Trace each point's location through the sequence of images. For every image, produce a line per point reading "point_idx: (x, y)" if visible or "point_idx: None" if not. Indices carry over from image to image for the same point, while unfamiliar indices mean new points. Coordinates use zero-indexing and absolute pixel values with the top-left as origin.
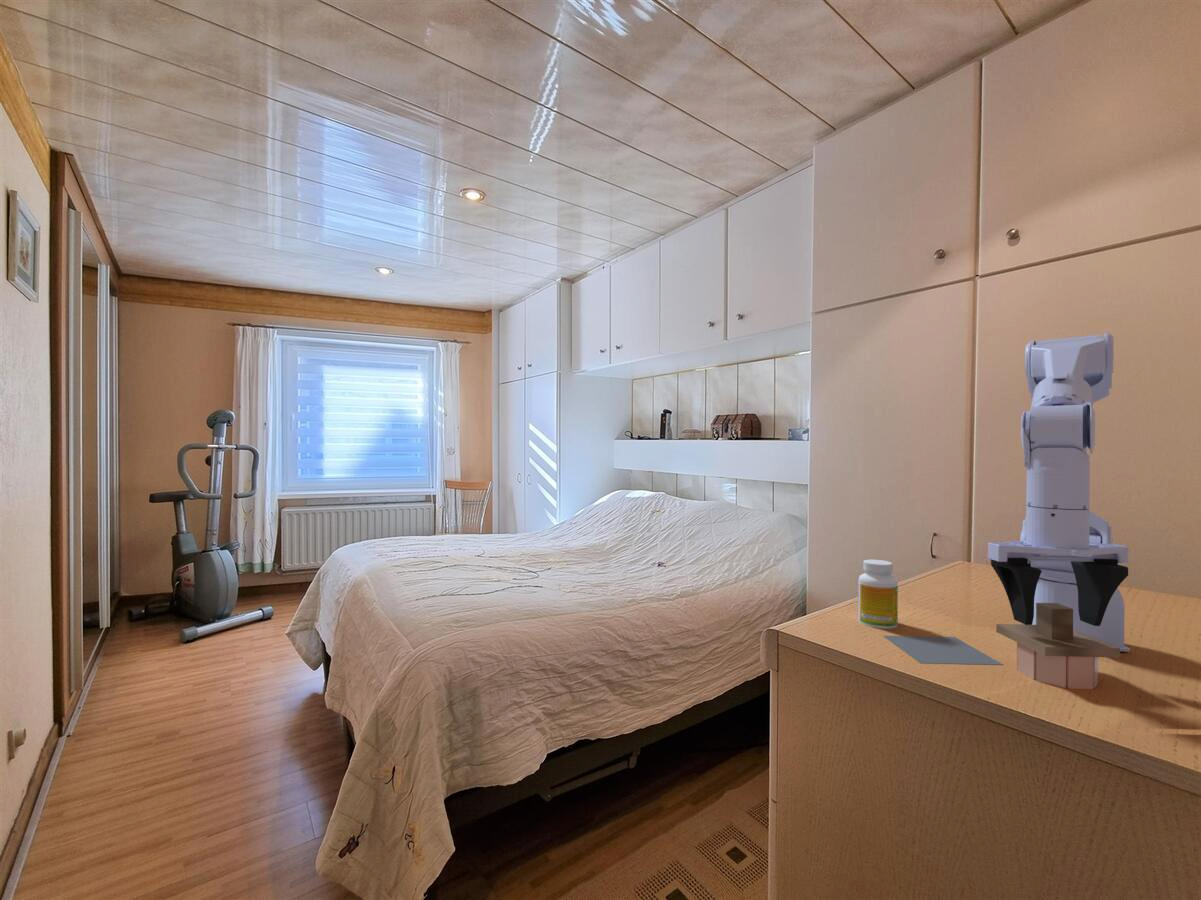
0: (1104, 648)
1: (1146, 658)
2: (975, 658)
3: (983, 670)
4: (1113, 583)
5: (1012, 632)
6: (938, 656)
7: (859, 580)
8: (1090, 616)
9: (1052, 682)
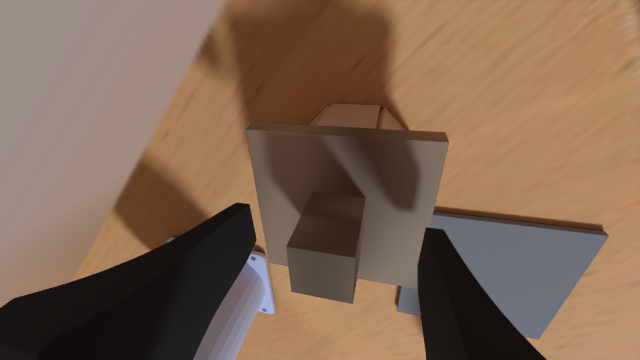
0: (283, 130)
1: (161, 219)
2: None
3: (468, 203)
4: (107, 283)
5: None
6: (521, 256)
7: None
8: (241, 228)
9: (399, 126)
